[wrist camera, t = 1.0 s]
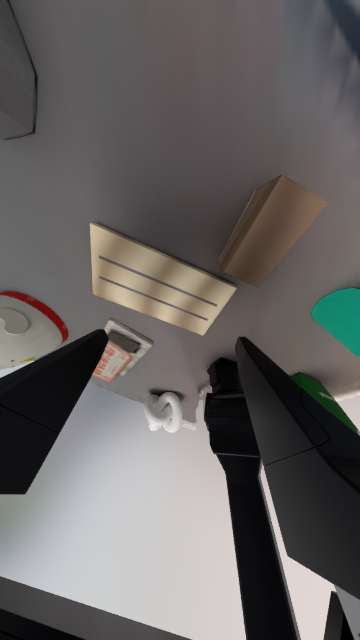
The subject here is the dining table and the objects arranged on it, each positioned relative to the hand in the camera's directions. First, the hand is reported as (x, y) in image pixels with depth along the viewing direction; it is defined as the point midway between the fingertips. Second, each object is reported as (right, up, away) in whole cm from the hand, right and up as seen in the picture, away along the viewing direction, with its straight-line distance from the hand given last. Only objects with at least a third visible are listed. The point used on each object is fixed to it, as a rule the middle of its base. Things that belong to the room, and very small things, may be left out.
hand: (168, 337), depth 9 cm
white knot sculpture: (-3, -24, +35) cm, 43 cm away
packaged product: (-14, -6, +24) cm, 28 cm away
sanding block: (+9, +11, +7) cm, 16 cm away
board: (-2, +6, +12) cm, 14 cm away
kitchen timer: (-31, +1, +20) cm, 37 cm away
